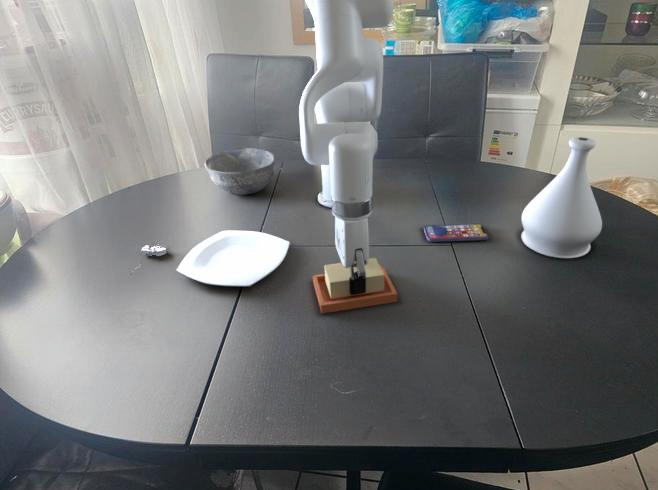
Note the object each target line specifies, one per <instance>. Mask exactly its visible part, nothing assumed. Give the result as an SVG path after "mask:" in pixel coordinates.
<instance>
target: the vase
mask: <svg viewBox="0 0 658 490" xmlns="http://www.w3.org/2000/svg"><path fill="white" fill-rule="evenodd" d="M596 145H597V142H596V141H595V140H594V139H593V138H590V137H587V136H574V137H571V138H570V139H569V141H568V147H569V148H570V149H571V150H570V154H569V157H568V159H567V162H566V163H565V165H564V166H563V168H562V169H561V170H560V171H559V173H558V174H557V175H556V176H555V177H554V178H553V179H552V180H551V181H550V182H549V183H548V184H547V185H546V186H545V187H544V188H543V189H542V190H541V191H540V192H539V193H538V194H536V196H535V197H533V199H531V200H530V201H529V202H528V204H527V205H526V206H525V207H524V209H523V210H522V213H521V218H520V219H521V224H522V227H523V231H522V232H521V235H520V239H521V241H522V242H523V244H524V245H525V246H526V247H528V248H529V249H531V250H532V251H534V252H536V253H539V254H541V255H544V256H547V257H551V258H552V257H553V258H559V259H574V258H579V257H583V256H585V255H586V254H588V253H589V252H590V250H591V248H592V247H591V243H592V242H593V241H594V240H596V238H597V237H598V236H599V235H600V234H601V232H602V228H603V220H602V216H601V212H600V209H599V206H598V203H597V201H596V198H595V195H594V192H593V190H592V187H591V184H590V181H589V177H588V173H587V160H588V155H589V152H590V151H592V150H593V149H595V148H596Z"/></svg>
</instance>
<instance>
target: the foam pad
mask: <svg viewBox="0 0 658 490" xmlns="http://www.w3.org/2000/svg"><path fill="white" fill-rule="evenodd" d="M353 263H356V261H353ZM380 266H381V265H380V264H379V262H378V260H377V258H376V257H372V258H369V262H368V264H367V265H365V271H366V292H365V293H362V294H366V293H372V292H379V291H384V273H383V271H382V270H381V268H380ZM323 267H324V274H325V281H326V285H327V288H328V291H329V294H330V298H331V299H333V298H340V297H346V296H353V295H351V294H350V287H349V277H351V274H350V267H348V268H345V267H344V266H343V264H342V262H336V263H330V264H324V265H323ZM353 268H354V273H355V272H357V267H353ZM356 295H359V294H356Z"/></svg>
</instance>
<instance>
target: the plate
mask: <svg viewBox="0 0 658 490" xmlns="http://www.w3.org/2000/svg"><path fill="white" fill-rule="evenodd" d="M290 244H291V242H290V241H288V240H286V239H283V238H281V237H279V236H275V235H273V234H269V233H265V232H261V231H255V230H254V231H253V230H231V229H230V230H228V229H227V230H222V231H220V232H218V233H216V234H213V235H212V236H209V237H208V238H206V239H204V240H203V241H200V243H198V244H197V245H195V246H194V247H193V248H192V249H191V250H189V251H188V253H186V255H185V256H184V257H183V259H182V260H181V262H179V263H180V264H179V265H178V267H177V268H176V272H177V273H178V274H181V275H182V276H185V277H187V278H189V279H190V280H193V281H195V282H199V283H201V284H205V285H210V286H217V287H232V288H233V287H235V288H243V287H244V288H250V287H252V286H253V285H255V284H257V283H259V282H260V281H262V280H263V279H264V278H266V277H268V276H269V275H270V274H272V273H273V272H274V271H275V270H277V269H278V267H280V265H281V264H282V263H283V261H285V258H286V256H287V254H288V252H289V251H288V250H289V247H290Z"/></svg>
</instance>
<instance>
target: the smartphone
mask: <svg viewBox="0 0 658 490" xmlns="http://www.w3.org/2000/svg"><path fill="white" fill-rule="evenodd" d="M423 232H424V235H425V238H426V240H427V242H430V243H436V242H437V243H439V242H441V243H442V242H465V241H466V242H468V241H486V240H488V239H489V234H488V233H487V230H486V229H485V227H484V226H483V225H482V224H481V223H463V224H462V223H460V224H459V223H458V224H435V225H433V224H432V225H425V226H424V227H423Z"/></svg>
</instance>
